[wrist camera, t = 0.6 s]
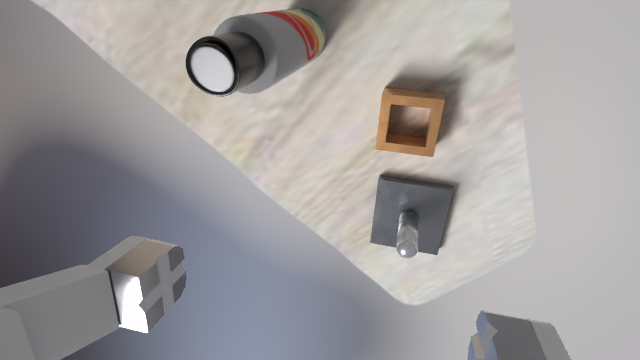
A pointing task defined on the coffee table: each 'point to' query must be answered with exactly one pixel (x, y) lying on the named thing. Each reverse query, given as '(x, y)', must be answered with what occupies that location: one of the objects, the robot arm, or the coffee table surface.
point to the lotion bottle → (255, 51)
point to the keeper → (410, 215)
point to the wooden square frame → (402, 141)
